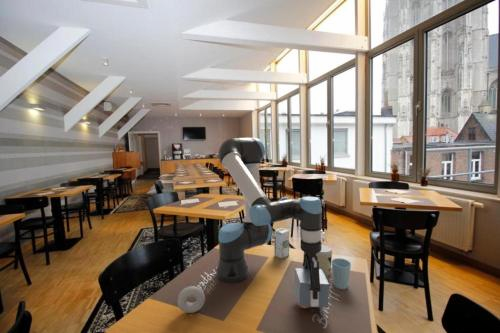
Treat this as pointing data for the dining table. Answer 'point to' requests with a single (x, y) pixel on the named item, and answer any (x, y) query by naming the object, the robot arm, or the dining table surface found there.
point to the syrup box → (282, 243)
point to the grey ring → (193, 306)
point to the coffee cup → (325, 259)
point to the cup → (341, 272)
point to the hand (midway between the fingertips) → (310, 296)
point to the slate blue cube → (304, 284)
